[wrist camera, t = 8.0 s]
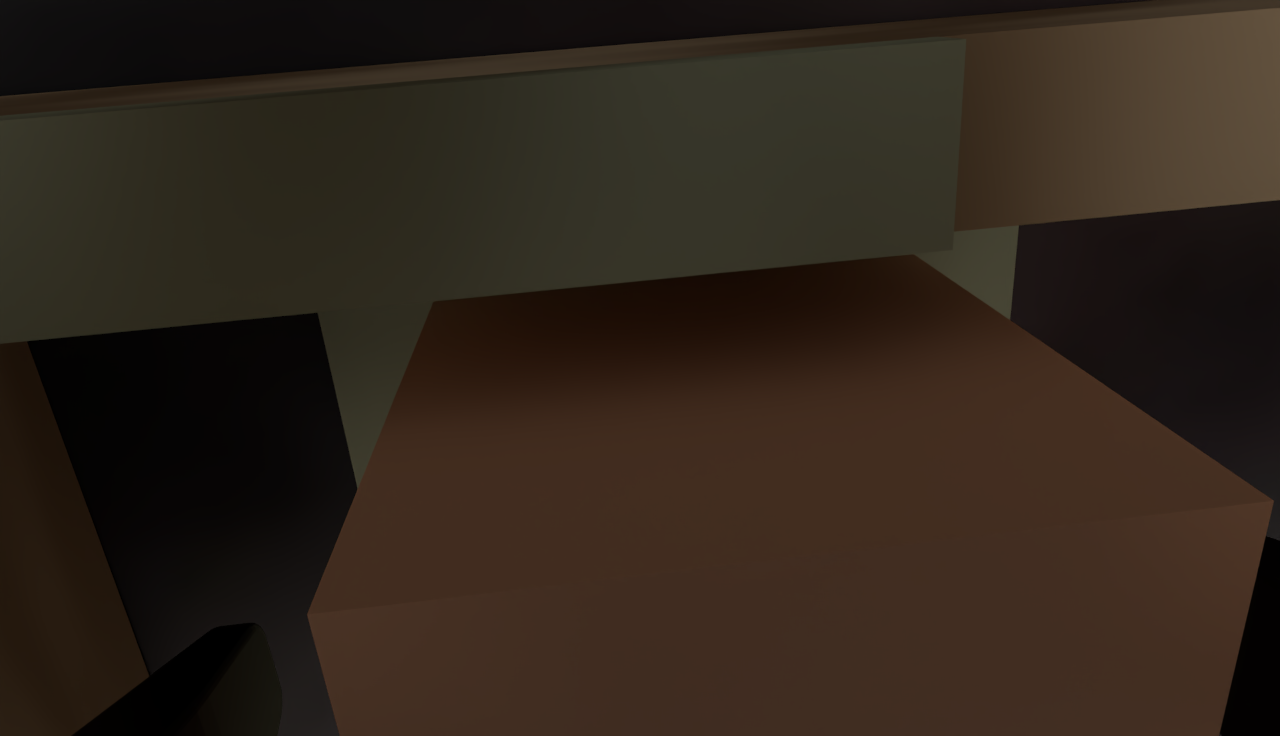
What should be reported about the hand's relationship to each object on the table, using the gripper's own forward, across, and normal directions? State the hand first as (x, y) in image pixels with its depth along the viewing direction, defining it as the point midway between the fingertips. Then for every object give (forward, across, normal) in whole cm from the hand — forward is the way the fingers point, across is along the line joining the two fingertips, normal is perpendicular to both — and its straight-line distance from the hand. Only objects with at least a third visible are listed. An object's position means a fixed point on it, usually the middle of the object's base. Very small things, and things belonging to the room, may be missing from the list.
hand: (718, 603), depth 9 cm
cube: (+2, 0, 0) cm, 2 cm away
